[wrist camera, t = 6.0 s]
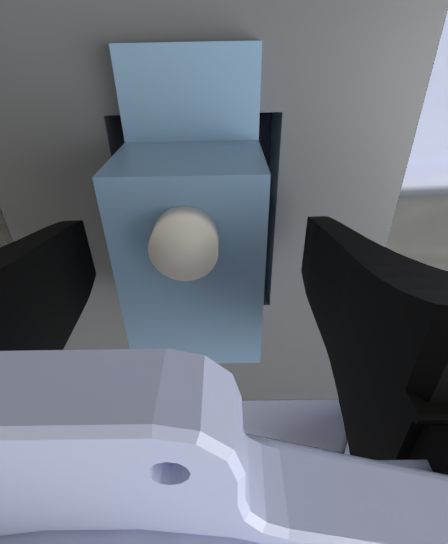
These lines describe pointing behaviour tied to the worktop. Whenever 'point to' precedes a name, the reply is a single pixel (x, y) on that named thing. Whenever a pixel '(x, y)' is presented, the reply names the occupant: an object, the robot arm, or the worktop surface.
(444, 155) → the worktop surface
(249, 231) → the block
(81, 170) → the mounting plate
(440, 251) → the worktop surface
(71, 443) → the robot arm
